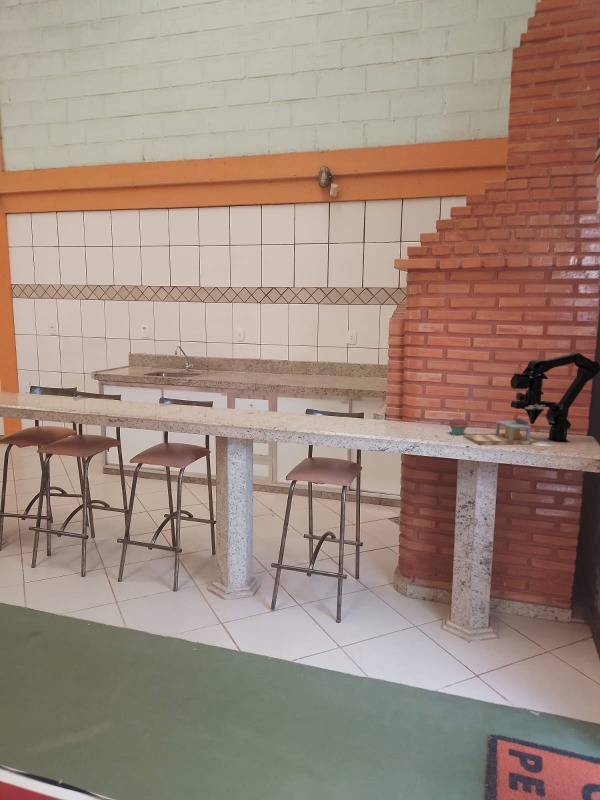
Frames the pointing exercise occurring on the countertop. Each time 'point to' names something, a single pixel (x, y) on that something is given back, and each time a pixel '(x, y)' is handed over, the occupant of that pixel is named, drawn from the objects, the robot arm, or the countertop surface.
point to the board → (498, 439)
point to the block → (515, 433)
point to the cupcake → (458, 425)
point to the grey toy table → (514, 427)
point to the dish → (543, 444)
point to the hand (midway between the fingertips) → (531, 424)
